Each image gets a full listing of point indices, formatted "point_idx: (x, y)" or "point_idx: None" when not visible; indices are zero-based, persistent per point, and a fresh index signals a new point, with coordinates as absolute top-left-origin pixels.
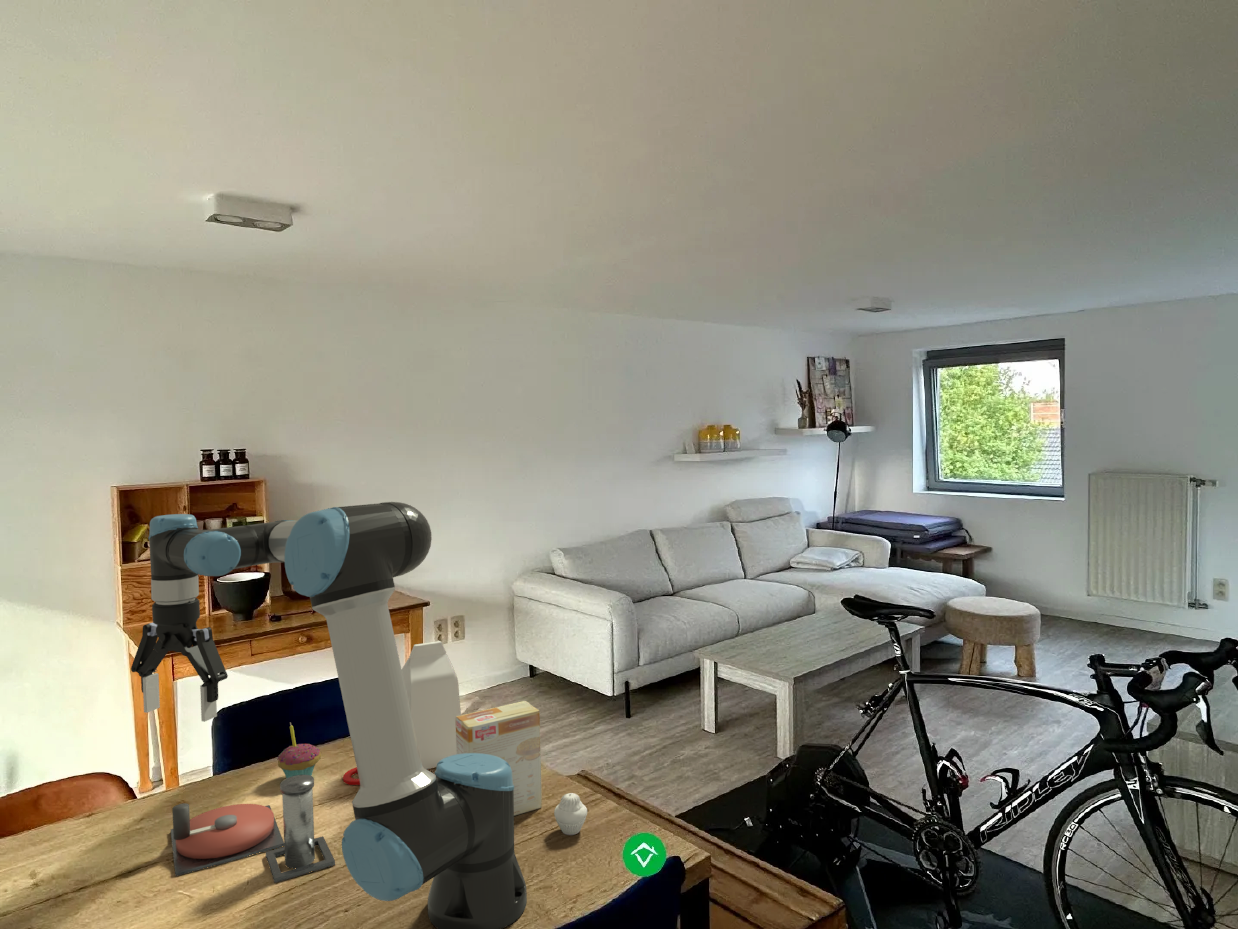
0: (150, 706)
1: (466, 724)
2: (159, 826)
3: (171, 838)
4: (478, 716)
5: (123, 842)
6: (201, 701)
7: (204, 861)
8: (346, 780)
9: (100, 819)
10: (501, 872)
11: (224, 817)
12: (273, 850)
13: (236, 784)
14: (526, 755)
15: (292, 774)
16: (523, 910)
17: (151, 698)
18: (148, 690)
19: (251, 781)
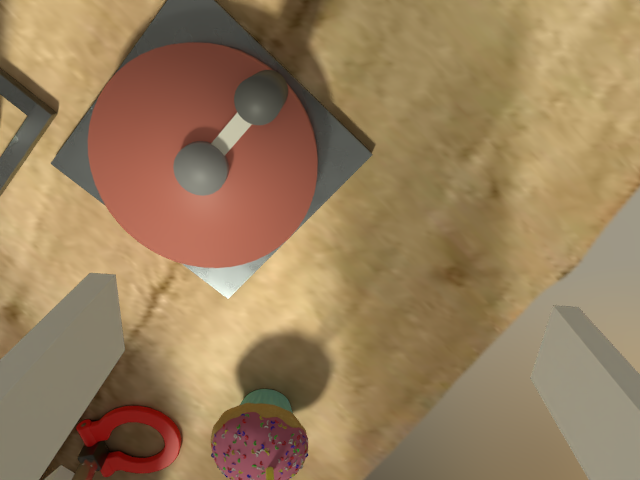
0: (560, 346)
1: None
2: (423, 172)
3: (341, 123)
4: None
5: (456, 85)
6: (40, 352)
7: (162, 43)
8: (147, 413)
9: (603, 166)
10: None
11: (212, 179)
12: (39, 125)
13: (387, 364)
14: None
15: (254, 401)
16: None
17: (581, 387)
18: (627, 421)
19: (363, 380)
